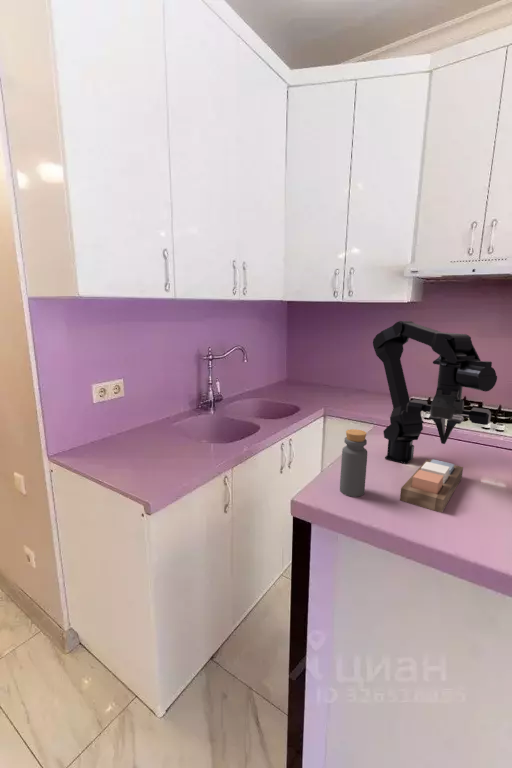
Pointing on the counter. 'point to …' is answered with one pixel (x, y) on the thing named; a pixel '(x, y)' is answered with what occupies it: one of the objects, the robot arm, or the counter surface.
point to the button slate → (444, 465)
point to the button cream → (437, 470)
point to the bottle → (353, 464)
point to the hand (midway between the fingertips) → (443, 443)
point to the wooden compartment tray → (428, 498)
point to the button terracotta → (427, 482)
